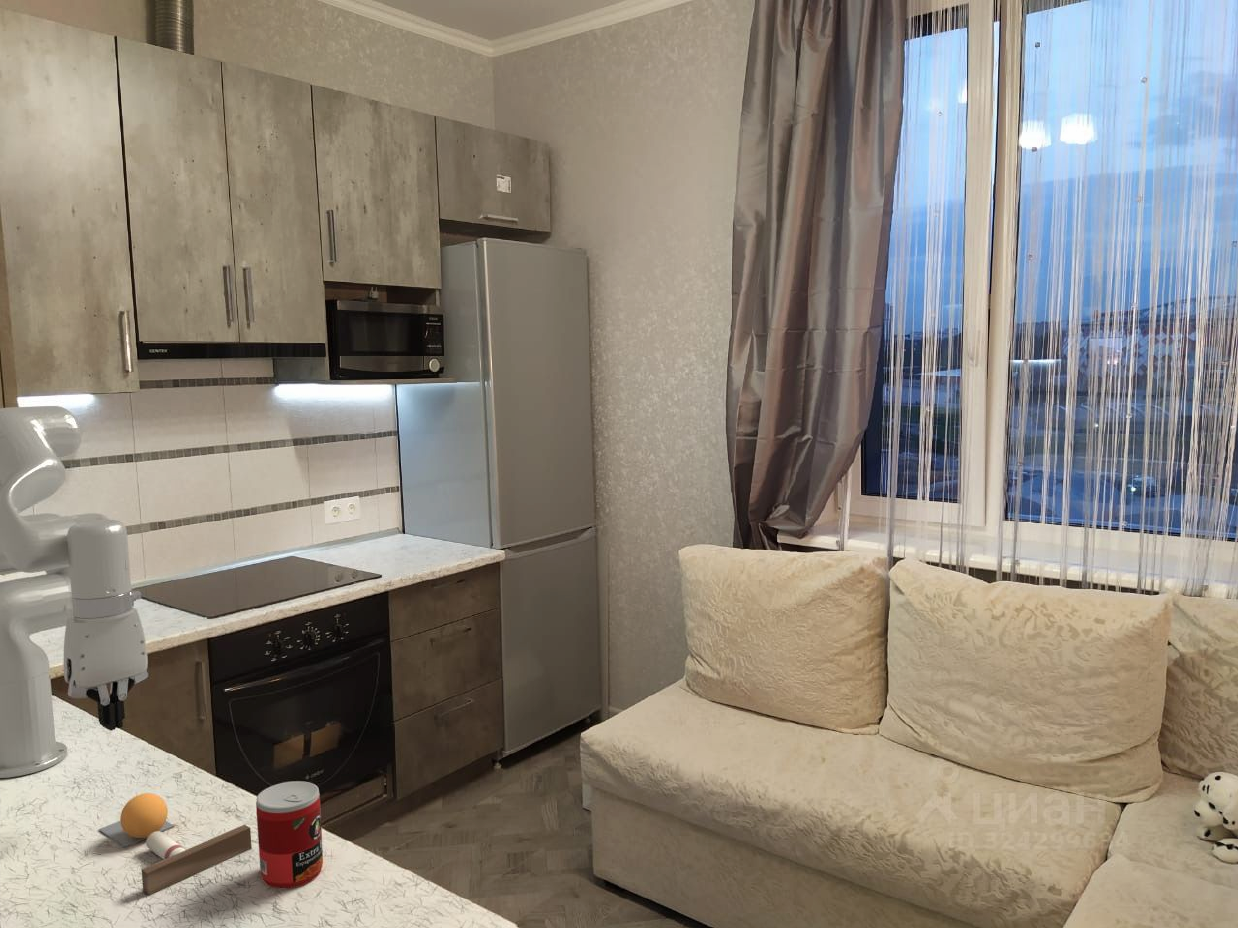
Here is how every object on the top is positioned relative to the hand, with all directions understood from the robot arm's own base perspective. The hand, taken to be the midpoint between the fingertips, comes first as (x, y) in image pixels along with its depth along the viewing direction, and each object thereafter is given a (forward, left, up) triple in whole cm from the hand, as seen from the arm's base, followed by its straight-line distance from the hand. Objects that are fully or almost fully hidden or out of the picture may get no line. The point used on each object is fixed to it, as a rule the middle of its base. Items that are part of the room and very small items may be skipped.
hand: (112, 726), depth 133 cm
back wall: (+24, 0, -14) cm, 27 cm away
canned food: (+34, +7, -14) cm, 38 cm away
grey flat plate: (+6, 0, -14) cm, 15 cm away
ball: (+9, 0, -11) cm, 14 cm away
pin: (+13, -1, -13) cm, 19 cm away
